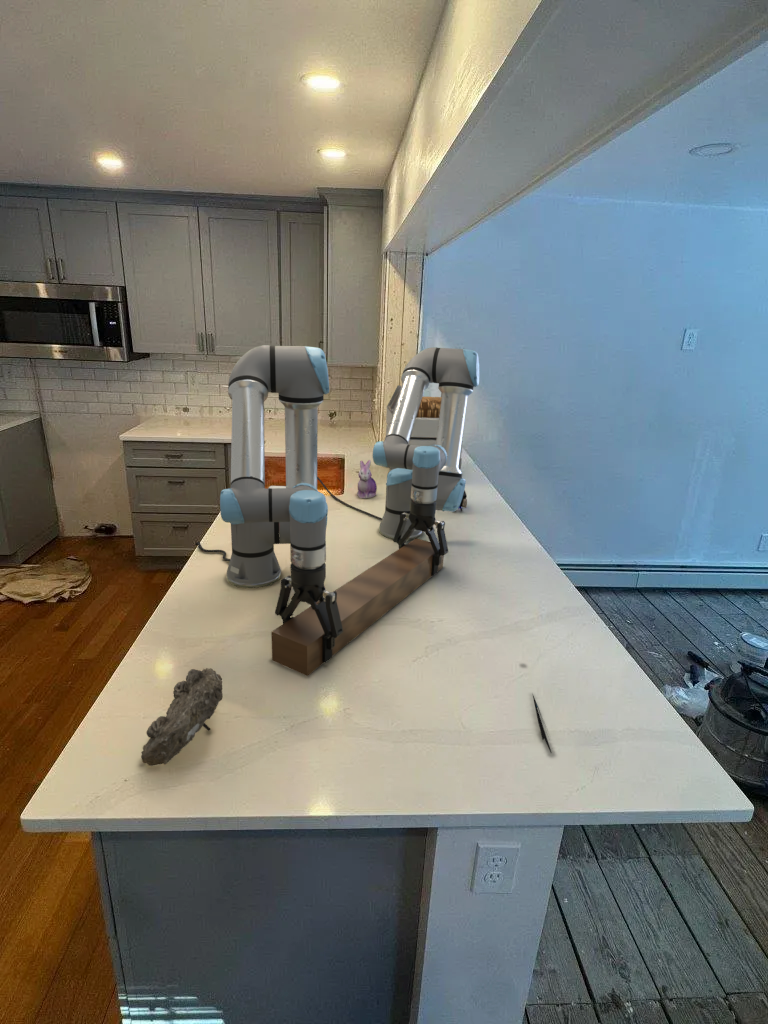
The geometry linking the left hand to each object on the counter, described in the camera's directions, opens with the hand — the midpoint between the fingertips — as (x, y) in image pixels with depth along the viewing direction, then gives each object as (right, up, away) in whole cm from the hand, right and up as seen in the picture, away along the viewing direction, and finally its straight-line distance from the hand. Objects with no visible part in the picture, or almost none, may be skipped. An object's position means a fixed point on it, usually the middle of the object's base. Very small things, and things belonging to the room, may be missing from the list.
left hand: (308, 651), depth 129 cm
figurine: (+10, +39, +110) cm, 117 cm away
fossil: (-19, -8, -24) cm, 31 cm away
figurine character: (+47, +34, +101) cm, 116 cm away
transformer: (+34, +51, +146) cm, 158 cm away
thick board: (+14, +7, +22) cm, 27 cm away
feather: (+48, -8, -14) cm, 50 cm away
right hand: (+28, +14, +43) cm, 53 cm away
